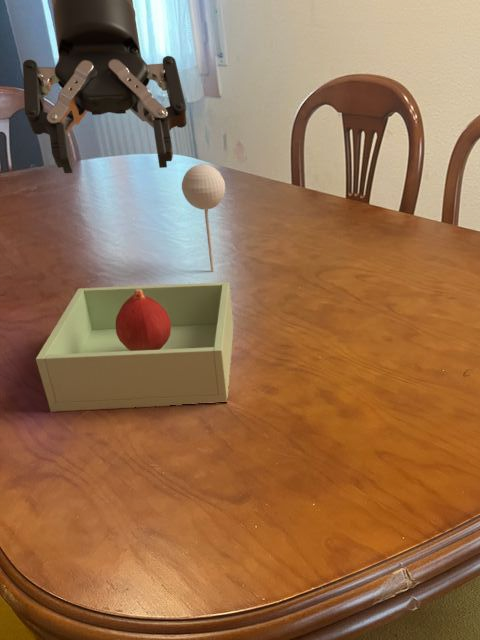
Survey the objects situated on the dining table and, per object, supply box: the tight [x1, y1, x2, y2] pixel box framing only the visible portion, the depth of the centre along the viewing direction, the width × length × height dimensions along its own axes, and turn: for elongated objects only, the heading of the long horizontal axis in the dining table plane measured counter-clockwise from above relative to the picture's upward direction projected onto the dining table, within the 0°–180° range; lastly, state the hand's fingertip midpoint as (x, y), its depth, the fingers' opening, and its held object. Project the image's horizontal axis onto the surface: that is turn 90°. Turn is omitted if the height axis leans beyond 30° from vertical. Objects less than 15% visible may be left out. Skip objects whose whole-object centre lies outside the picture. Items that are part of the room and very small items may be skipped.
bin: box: [35, 281, 234, 413], centre depth 72 cm, size 18×18×6 cm
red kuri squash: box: [115, 289, 171, 351], centre depth 71 cm, size 6×6×8 cm
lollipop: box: [181, 164, 226, 273], centre depth 94 cm, size 6×6×15 cm
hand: (115, 165), depth 60 cm, fingers open, 8 cm apart
